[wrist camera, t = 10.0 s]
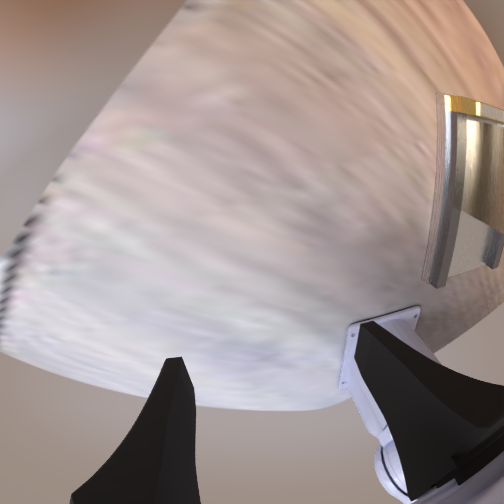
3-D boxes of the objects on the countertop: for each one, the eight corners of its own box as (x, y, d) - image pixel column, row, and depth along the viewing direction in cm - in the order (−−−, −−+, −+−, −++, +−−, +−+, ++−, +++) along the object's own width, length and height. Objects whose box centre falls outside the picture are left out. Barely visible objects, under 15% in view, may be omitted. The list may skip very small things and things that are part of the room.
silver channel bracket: (487, 258, 24) (503, 269, 21) (421, 278, 23) (438, 293, 20) (504, 113, 17) (524, 117, 14) (435, 93, 16) (460, 94, 13)
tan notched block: (472, 120, 16) (518, 130, 11) (495, 126, 16) (537, 137, 12) (465, 213, 19) (506, 236, 15) (489, 209, 20) (526, 230, 15)
